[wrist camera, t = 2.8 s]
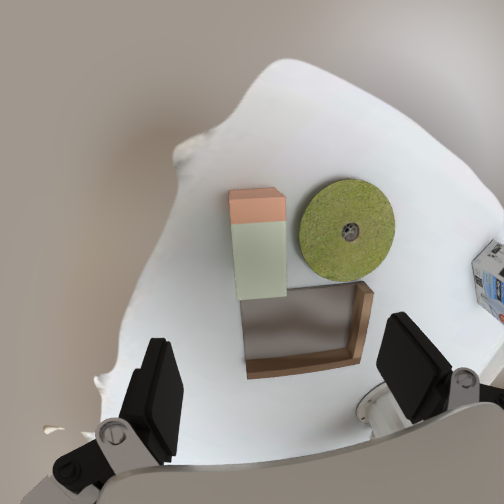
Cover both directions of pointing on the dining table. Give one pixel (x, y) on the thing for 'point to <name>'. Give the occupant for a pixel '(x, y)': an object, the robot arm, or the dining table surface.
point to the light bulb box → (490, 279)
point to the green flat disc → (347, 230)
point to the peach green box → (259, 242)
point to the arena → (306, 329)
